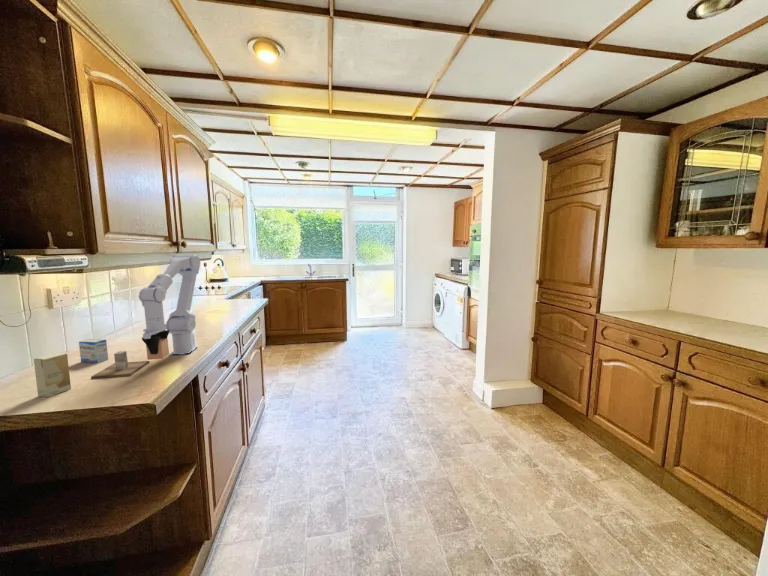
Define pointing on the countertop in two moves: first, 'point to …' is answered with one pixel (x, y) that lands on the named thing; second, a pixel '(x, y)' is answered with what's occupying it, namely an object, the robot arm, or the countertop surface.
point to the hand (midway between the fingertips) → (158, 351)
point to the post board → (120, 372)
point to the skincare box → (52, 374)
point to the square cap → (159, 350)
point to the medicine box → (93, 350)
